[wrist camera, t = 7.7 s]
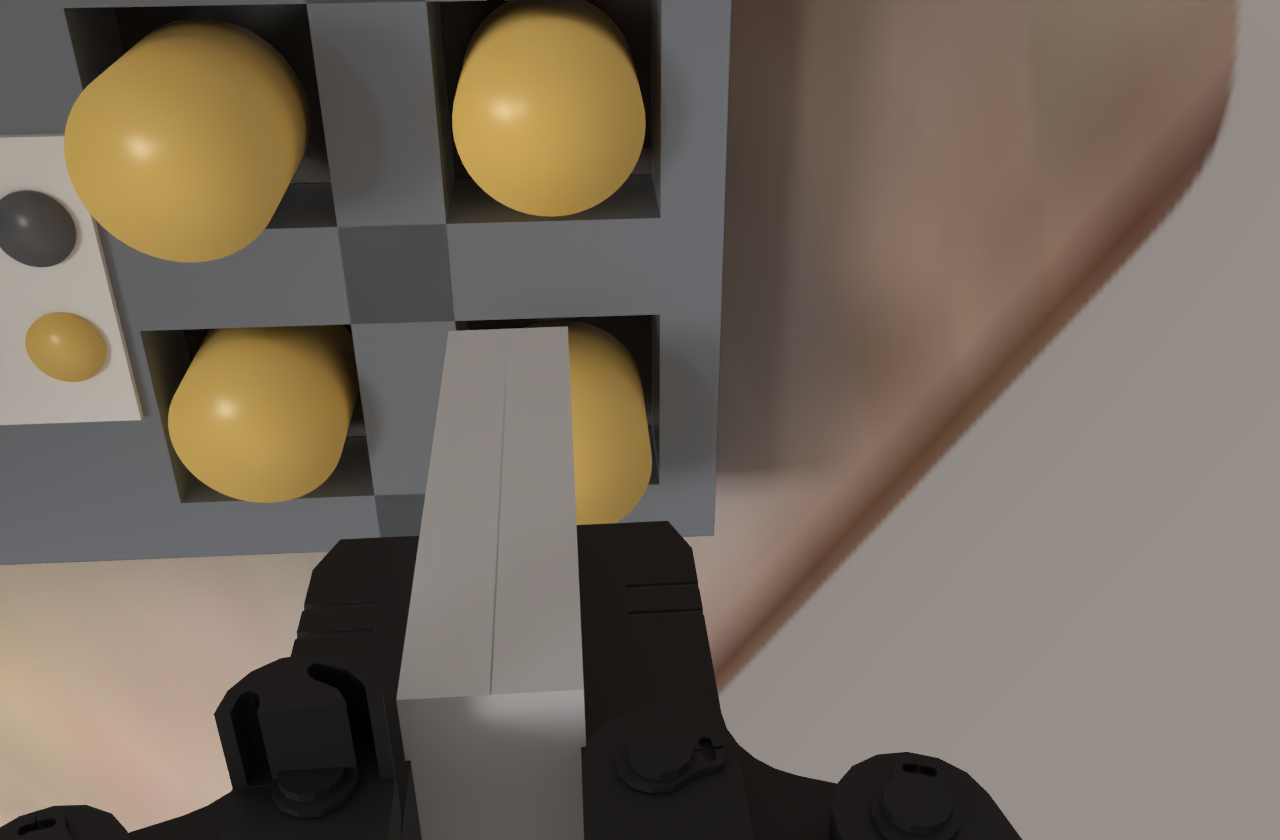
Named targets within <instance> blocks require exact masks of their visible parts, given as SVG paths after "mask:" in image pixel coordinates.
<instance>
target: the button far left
mask: <svg viewBox="0 0 1280 840" xmlns="http://www.w3.org/2000/svg"><path fill="white" fill-rule="evenodd" d="M358 391H359V380H358V373H357V365H356V358H355V351H354V344H353V338H352V336H351V334H350V333H349V332H348V330H347V329H346V328H345V327H344V325H312V326H281V327H249V328H218V329H209V331H208V333H207V334H206V336H205V338H204V340H203V342H202V344H201V346H200V348H199V349H198V351H197V353H196V355H195V357H194V359H193V361H192V363H191V364H190V366H189V368H188V370H187V372H186V374H185V376H184V378H183V380H182V381H181V383H180V385H179V387H178V389H177V391H176V393H175V395H174V396H173V399H172V401H171V404H170V408H169V414H168V429H169V435H170V439H171V442H172V445H173V447H174V449H175V451H176V453H177V455H178V457H179V458H180V460H181V461H182V463H183V464H184V465H185V466H186V468H187V469H188V470H189V471H190V472H191V473H192V474H193V475H194V476H195V477H196V478H197V479H199V480H200V481H201V482H203V483H204V484H206V485H207V486H209V487H210V488H212V489H214V490H216V491H218V492H220V493H222V494H224V495H227V496H230V497H233V498H236V499H239V500H244V501H248V502H257V503H274V502H283V501H288V500H292V499H295V498H298V497H301V496H303V495H305V494H307V493H309V492H311V491H313V490H314V489H316V488H317V487H319V486H320V485H321V484H322V483H323V482H325V481H326V480H327V479H328V477H329V476H330V475H331V474H332V473H333V471H334V469H335V468H336V466H337V464H338V462H339V459H340V457H341V453H342V450H343V446H344V442H345V439H346V435H347V431H348V428H349V424H350V420H351V417H352V413H353V409H354V406H355V402H356V398H357V395H358Z"/></svg>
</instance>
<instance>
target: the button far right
mask: <svg viewBox="0 0 1280 840" xmlns="http://www.w3.org/2000/svg"><path fill="white" fill-rule="evenodd" d="M567 326H568V343H569V365H570V388H571V411H572V433H573V456H574V479H575V501H576V524H577V525H588V524H609V523H617V522H619V521H620V520H621V519H623V518H624V517H625V516H627V515H628V514H629V513H630V512H631V511H632V510H633V509H634V508H635V506H636V505H637V504H638V502H639V501H640V500H641V498H642V496H643V495H644V493H645V491H646V489H647V486H648V484H649V480H650V476H651V471H652V455H651V446H650V439H649V432H648V424H647V417H646V409H645V402H644V395H643V387H642V380H641V376H640V372H639V369H638V367H637V364H636V362H635V360H634V358H633V357H632V355H631V354H630V352H629V351H628V350H627V348H626V347H625V346H624V345H623V344H622V343H621V342H620V341H619V340H618V339H616V338H615V337H614V336H612V335H611V334H609V333H608V332H606V331H604V330H602V329H600V328H598V327H595V326H593V325H591V324H587V323H583V322H579V321H572V320H551V321H544V322H540V323H536V324H533V325H530V326H527V327H525V328H541V327H567Z"/></svg>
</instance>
